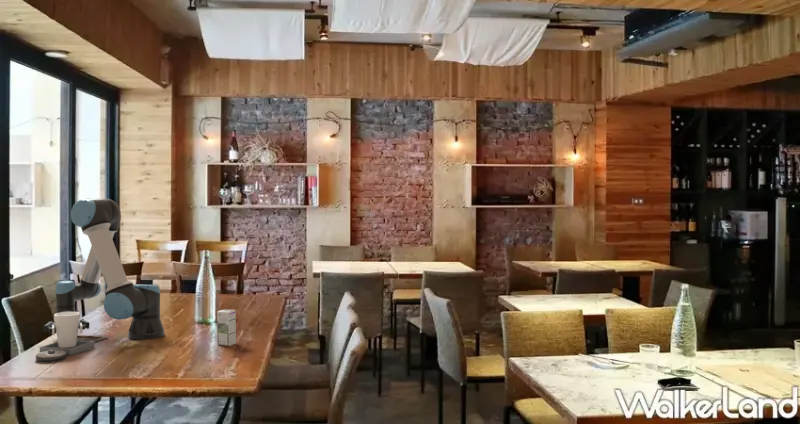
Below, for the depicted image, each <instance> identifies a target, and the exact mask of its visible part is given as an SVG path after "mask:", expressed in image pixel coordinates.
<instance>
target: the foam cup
mask: <svg viewBox="0 0 800 424" xmlns="http://www.w3.org/2000/svg"><path fill="white" fill-rule="evenodd" d="M80 320H81V313H80V312H78V311H75V312H62V313H57V314H56V313H55V314H53V322H54V323H55V327H56V330H55V333H56V337H57V341H58V345H59V347H62V348H67V347H73V346H76V342H77V340H78V338H77V335H79V334H78V333H79V329H78V326H79V321H80Z"/></svg>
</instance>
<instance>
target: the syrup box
mask: <svg viewBox="0 0 800 424" xmlns="http://www.w3.org/2000/svg"><path fill="white" fill-rule="evenodd" d="M216 313H217V315H216V321H217V323H216V324H217V332H216V333H217V337H216V338H217V346H223V347H224V346H226V347H230V346H233V345H235V344H237V342H236V341H237V338H236V337H237V336H236V335H237V334H236V333H237V332H236V331H237V330H236V322H237V320H236V315H237V314H236V313H237V312H236V310H235V309H226V308H225V309H220V310H218V311H216Z"/></svg>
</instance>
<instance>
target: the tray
mask: <svg viewBox="0 0 800 424" xmlns="http://www.w3.org/2000/svg"><path fill="white" fill-rule="evenodd" d="M54 342H55V343H54ZM54 342H52V343H49V344H46V345H42V346H39V353H40V352H44V351H48V350H51V349H54V350H62V351H65V352H66V353H67V356H69V357H71V356H73V355H77V354H80V353H83V352H86V351H89V350H92V349H94V348H95V343H94V340H78V339H77V342H76V346H73V347H67V348H62V347H59V345H58V342H56V341H54Z"/></svg>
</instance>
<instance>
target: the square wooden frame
mask: <svg viewBox="0 0 800 424" xmlns="http://www.w3.org/2000/svg"><path fill="white" fill-rule="evenodd" d="M78 338H80V339H81V338H82V339H83V338H84V339H94V340H93V341H94V344H95V343H99V342H102V341H104V340H107V339H109V338H108V336H100V335H84V334H83V335H82V334H77V339H78ZM55 342H58V340H57V341H54V342H53V343H55Z"/></svg>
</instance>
